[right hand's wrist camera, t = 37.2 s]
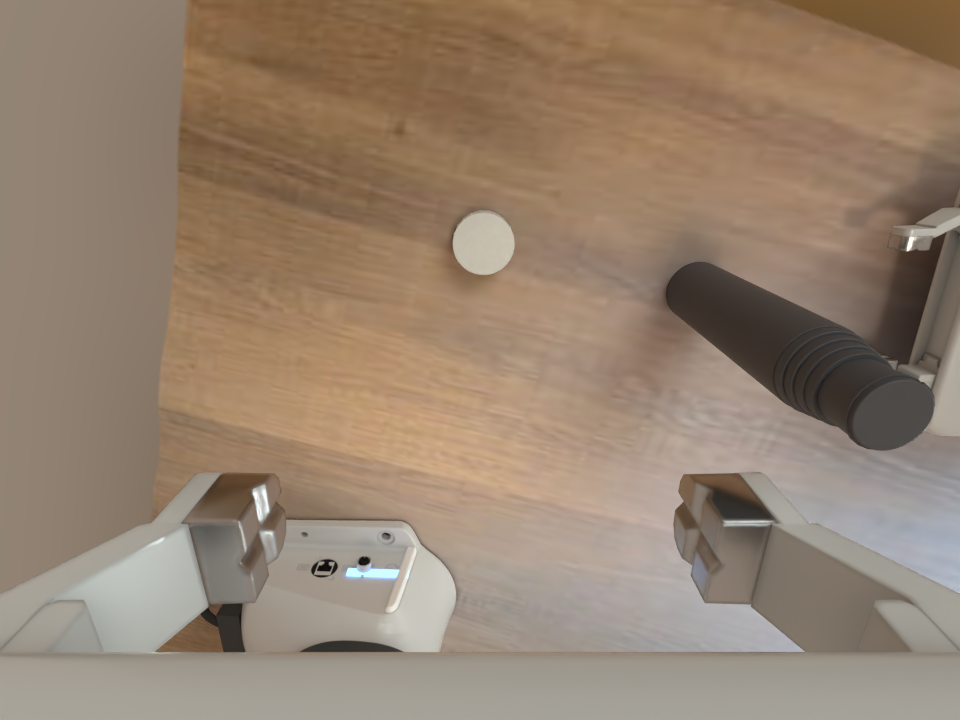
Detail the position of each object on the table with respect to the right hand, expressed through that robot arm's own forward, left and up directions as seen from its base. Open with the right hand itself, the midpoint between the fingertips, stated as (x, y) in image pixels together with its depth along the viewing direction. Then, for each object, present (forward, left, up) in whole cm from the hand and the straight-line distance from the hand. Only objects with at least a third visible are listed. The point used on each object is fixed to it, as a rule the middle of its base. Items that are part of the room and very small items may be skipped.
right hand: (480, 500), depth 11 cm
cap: (0, 0, -31) cm, 31 cm away
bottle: (+18, 0, -32) cm, 37 cm away
